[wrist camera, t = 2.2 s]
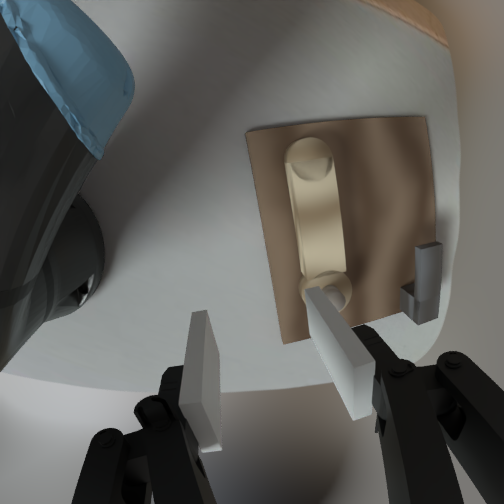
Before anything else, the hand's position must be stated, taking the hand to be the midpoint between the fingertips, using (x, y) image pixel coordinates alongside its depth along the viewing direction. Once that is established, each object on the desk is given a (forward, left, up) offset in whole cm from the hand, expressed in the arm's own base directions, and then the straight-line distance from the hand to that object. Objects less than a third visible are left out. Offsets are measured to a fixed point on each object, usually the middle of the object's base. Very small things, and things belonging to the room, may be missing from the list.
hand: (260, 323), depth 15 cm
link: (+8, 0, -15) cm, 17 cm away
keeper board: (+13, -1, -17) cm, 21 cm away
